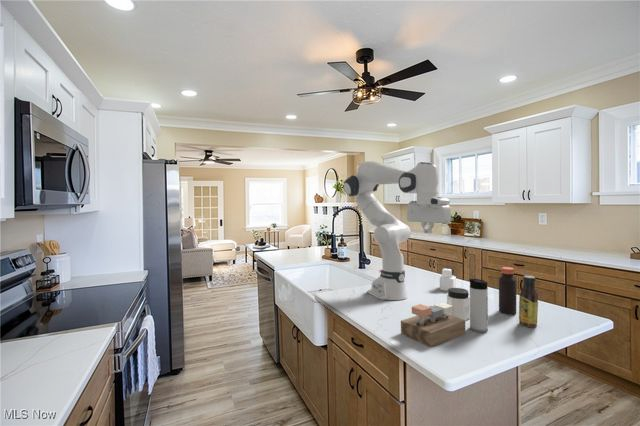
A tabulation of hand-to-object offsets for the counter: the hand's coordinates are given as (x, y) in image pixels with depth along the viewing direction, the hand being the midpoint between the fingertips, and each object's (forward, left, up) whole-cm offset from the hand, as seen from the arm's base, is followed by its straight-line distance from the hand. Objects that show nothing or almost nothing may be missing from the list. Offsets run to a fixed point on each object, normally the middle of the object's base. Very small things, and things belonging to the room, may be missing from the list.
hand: (427, 233), depth 133 cm
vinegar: (+15, +35, -37) cm, 53 cm away
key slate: (+10, -10, -35) cm, 38 cm away
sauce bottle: (+27, +27, -37) cm, 53 cm away
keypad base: (+10, -10, -37) cm, 40 cm away
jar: (+6, +12, -37) cm, 40 cm away
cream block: (+10, -3, -35) cm, 37 cm away
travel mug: (+18, +7, -37) cm, 42 cm away
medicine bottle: (-23, +46, -37) cm, 64 cm away
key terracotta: (+10, -16, -33) cm, 38 cm away
